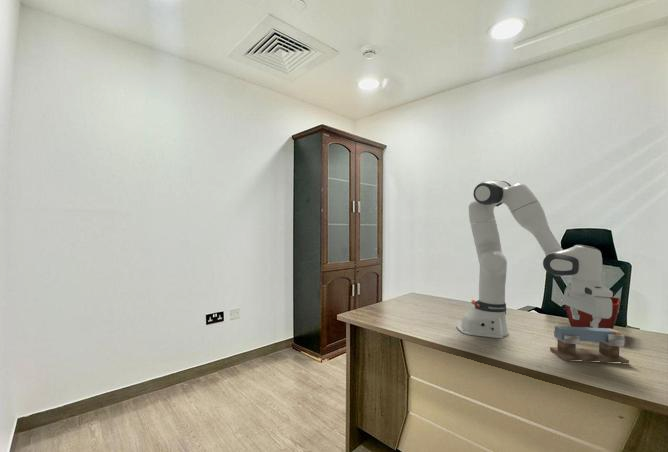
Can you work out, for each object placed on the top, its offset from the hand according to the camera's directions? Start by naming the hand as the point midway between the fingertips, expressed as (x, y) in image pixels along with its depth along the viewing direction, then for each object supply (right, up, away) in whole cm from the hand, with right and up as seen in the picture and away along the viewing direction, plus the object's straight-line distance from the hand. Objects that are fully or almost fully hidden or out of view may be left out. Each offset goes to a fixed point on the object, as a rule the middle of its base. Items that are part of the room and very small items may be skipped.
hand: (584, 323), depth 113 cm
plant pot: (+27, -14, +27) cm, 41 cm away
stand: (+1, -13, -1) cm, 13 cm away
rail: (0, -6, -1) cm, 6 cm away
